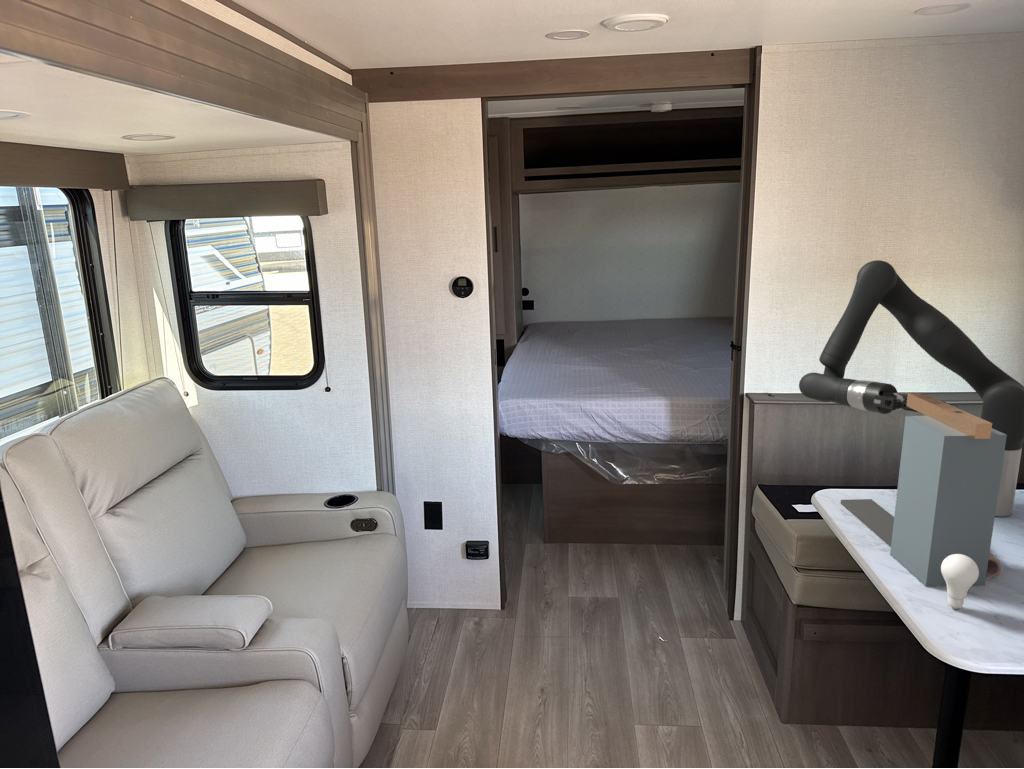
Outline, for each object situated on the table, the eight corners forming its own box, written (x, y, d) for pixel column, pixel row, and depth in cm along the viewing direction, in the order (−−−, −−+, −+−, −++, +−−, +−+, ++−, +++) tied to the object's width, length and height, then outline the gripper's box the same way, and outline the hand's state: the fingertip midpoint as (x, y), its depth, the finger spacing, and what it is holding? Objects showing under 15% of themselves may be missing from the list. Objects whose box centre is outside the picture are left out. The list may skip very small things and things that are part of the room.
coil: (1005, 561, 147) (973, 524, 164) (980, 556, 148) (950, 521, 165) (999, 581, 148) (968, 543, 165) (974, 577, 149) (946, 539, 166)
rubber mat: (840, 503, 188) (840, 499, 187) (871, 502, 188) (871, 499, 187) (892, 548, 162) (892, 544, 162) (927, 547, 162) (927, 543, 162)
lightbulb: (929, 600, 141) (935, 549, 138) (958, 598, 141) (965, 547, 138) (950, 617, 135) (957, 564, 132) (981, 615, 135) (988, 562, 133)
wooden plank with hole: (906, 405, 160) (907, 392, 159) (919, 405, 160) (921, 392, 159) (974, 438, 136) (976, 423, 136) (990, 438, 136) (992, 423, 136)
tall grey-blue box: (890, 554, 159) (905, 416, 152) (944, 553, 159) (962, 415, 152) (925, 586, 146) (944, 436, 138) (984, 585, 146) (1006, 434, 138)
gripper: (853, 381, 176) (914, 391, 161) (893, 381, 182) (955, 390, 167) (849, 412, 177) (910, 424, 162) (889, 410, 183) (951, 422, 168)
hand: (932, 407), depth 165 cm, fingers open, 8 cm apart
